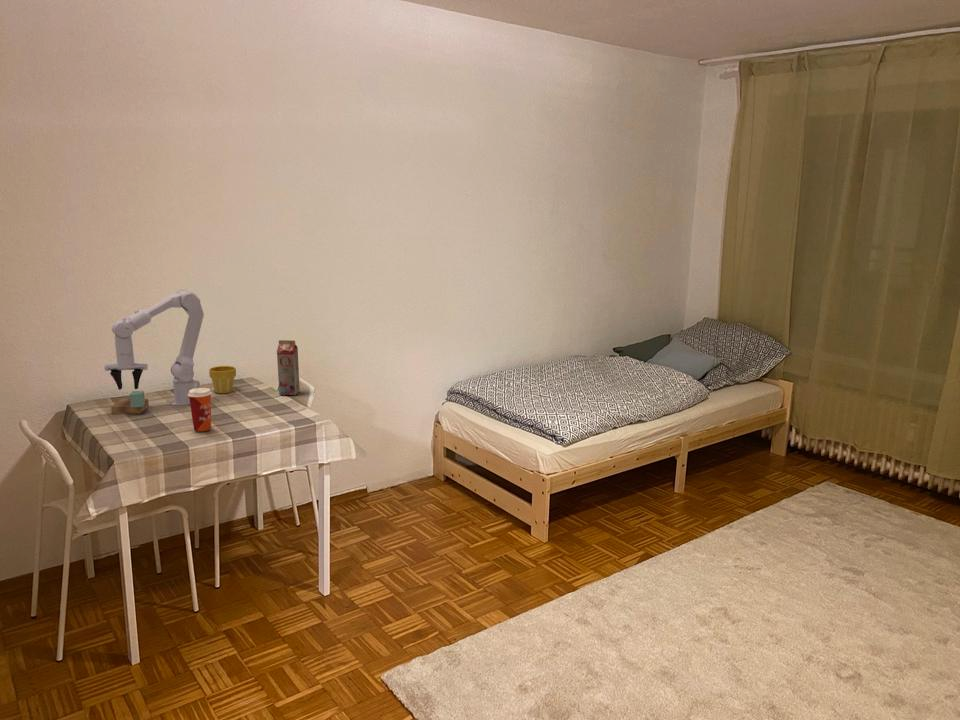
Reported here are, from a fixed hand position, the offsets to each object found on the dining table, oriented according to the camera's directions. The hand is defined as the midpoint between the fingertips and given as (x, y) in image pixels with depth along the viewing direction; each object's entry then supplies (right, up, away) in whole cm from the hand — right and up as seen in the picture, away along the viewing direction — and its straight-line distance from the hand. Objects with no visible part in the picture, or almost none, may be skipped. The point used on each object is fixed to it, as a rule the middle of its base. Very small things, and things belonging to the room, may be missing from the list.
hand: (128, 388), depth 271 cm
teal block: (+5, -6, -2) cm, 8 cm away
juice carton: (+53, -3, +28) cm, 60 cm away
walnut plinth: (0, -8, +2) cm, 8 cm away
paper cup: (+35, -13, -18) cm, 41 cm away
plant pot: (+26, -2, +29) cm, 39 cm away
